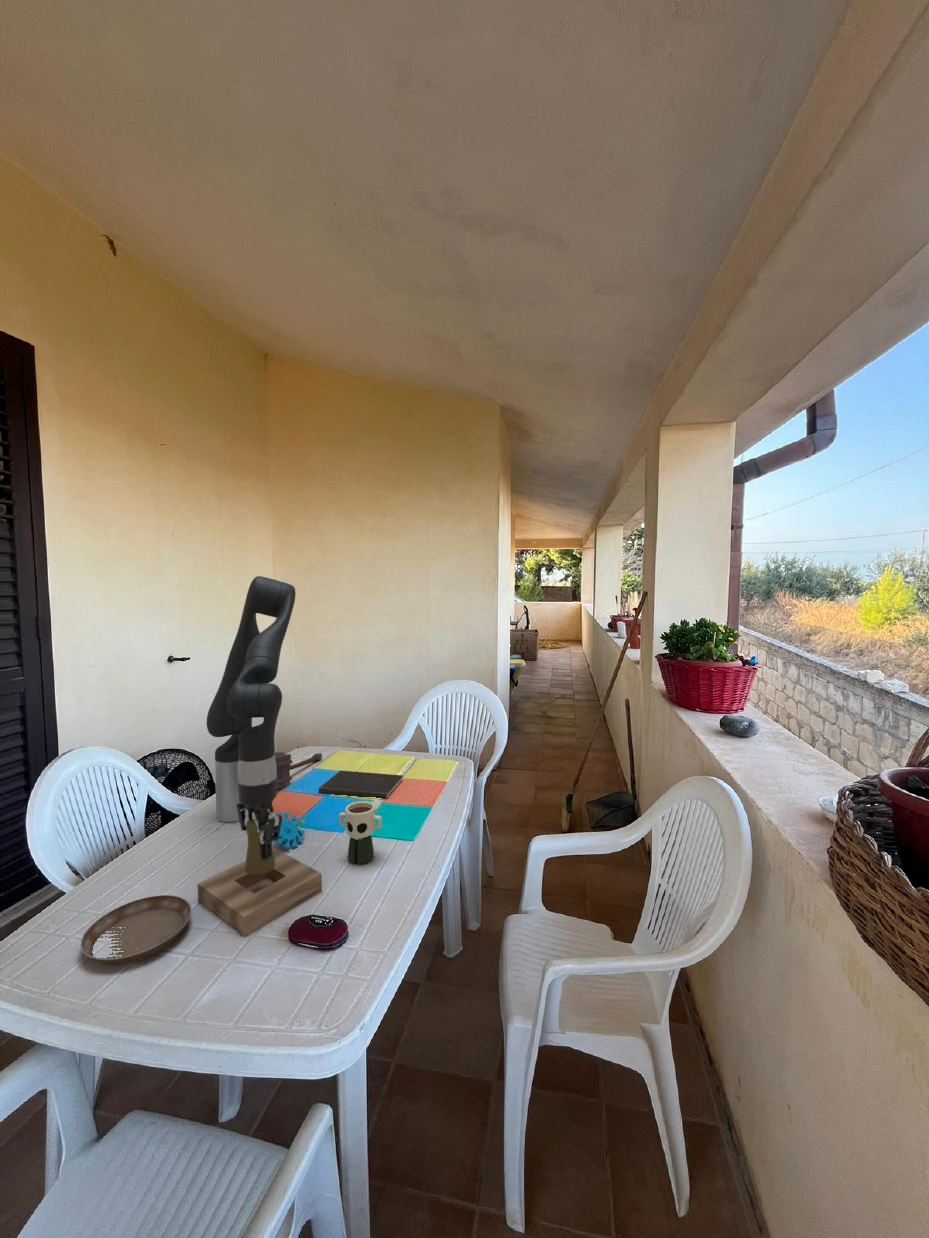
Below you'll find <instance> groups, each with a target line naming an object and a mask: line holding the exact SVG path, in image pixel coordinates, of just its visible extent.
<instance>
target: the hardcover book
mask: <svg viewBox="0 0 929 1238" xmlns="http://www.w3.org/2000/svg"><path fill="white" fill-rule="evenodd" d="M403 777H404V775H401V774H390V773H377V772H363V771H351V770H339V771H338V772H337V773H336V774H334V775H333V776H332V777H330V778H329V779H328V780H327V781H325V783H324V784H322V785H321V786H319V788H318V790H317V791H318V794H319V795H328V794H334V795H333V796H339V795H347V796H346V797H350V796H357V797H356V798H361V797H376V798H382V799H381V800H383V799H387V800H388V798H389V797H390V795H391V794H392V793H393V792H394V791H395V789H396V788H397V787H398V786H397V784H398V783H399V781H400V780H401V779H402V780H403ZM396 786H397V787H396ZM395 787H396V788H395ZM394 788H395V789H394ZM393 790H394V791H393ZM392 791H393V792H392ZM391 792H392V793H391ZM389 794H390V795H389ZM387 797H388V798H387Z"/></svg>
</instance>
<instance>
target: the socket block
mask: <svg viewBox="0 0 929 1238" xmlns="http://www.w3.org/2000/svg"><path fill="white" fill-rule="evenodd" d="M272 848H273V853H274V859H275V867H274V868H273V869H272V870H270V871H269V872H267V873H264V874H260V875H250V874H248V873H246V871H245V866H246V860H245V861H242V862H241V863H238V864H236V865H234V866H231V867H230V868H227V869H226V870H223V871H221V872H218V873H217V874H215V875H212V876H210V877H208V878H206V879H204V880H202V881H200V882H197V884H196V885H197V902H198V903H199V904H201V905H202V906H203V907H205V908H206V909H207V910H208V911H210V912H211V913H213V914H214V915H216V916H217V918H219V919H220V920H221V921H223V922H225V924H226V925H228V926H230V927H231V928H233V930H234V931H236V932H237V933H239V934H240V935H242V936H243V937H247V936H248V935H250V934H251V933H254V932H255V931H257V930H259V929H260V928H262V927H263V926H265V925H267V924H268V923H270V922H272V921H274V920H275V919H277V918H278V917H281V916H282V915H284V914H285V913H287V912H289V911H290V910H292V909H294V908H295V907H297V906H299V905H300V904H303V903H304V902H306V901H307V900H309V899H310V898H312V897H314V896H315V895H317V894H319V893H321V892H322V891H323V889H322V888H323V887H322V885H323V884H322V880H323V878H322V872H319V871H318V870H316V869H314V868H312V867H311V866H308V865H307V864H305V863H303V862H301V861H299V860H297V859H295V858H293V857H292V856H290V855H288V854H286V853H284V852H282V851H281V850H279V849H277V848H275V847H272Z"/></svg>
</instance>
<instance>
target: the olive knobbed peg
mask: <svg viewBox="0 0 929 1238" xmlns="http://www.w3.org/2000/svg"><path fill="white" fill-rule="evenodd" d="M267 826H268V825H267V824H264V825H261V828H265V827H267ZM246 831H247V833H248V834H249V839H248V838H247V849H246V857H245V858H246V859H245V861H246V866H245V871H246V873H248V874H250V875H260V874H264V873H267V872H269V871H270V870H272V869H273V868H274V867H275V859H274V853H273V848H274V847H272V856H271V857H270V858H268V859H266V860H262V858H261V849H260V843H261V842H260V837H259V835H260V833H257V828H256V825H255V822H254V820H253V819H250V820H249V821H248V822H247V824H246ZM246 831H245V832H246ZM264 836H266V831H265V832H264Z"/></svg>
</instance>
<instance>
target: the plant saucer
mask: <svg viewBox="0 0 929 1238" xmlns="http://www.w3.org/2000/svg"><path fill="white" fill-rule="evenodd" d="M191 915H192V906H191V904H190V902H189V901H188V900H186V899H185V898H183V897H181V896H177V895H173V894H170V895H169V894H162V895H159V894H158V895H153V896H147V897H143V898H140V899H137V900H133V901H130V902H128V903H125V904H122V905H120V906H118V907H117V908H114V909H113V910H109V912H106V914H104V915H103V916H101V917H99V918H98V919H97V920H96V921H95V922H93V923H92V924H91V925H90V926H89V928H87V929H86V931H85V933H84V934H83V935H82V938H81V941H80V949H81V951H82V953H84V955H85V956H87V958H89V959H90V960H92V961H94V962H97V963H99V964H102V965H108V966H121V964H123V965H128V964H127V963H129V964H133V963H136V962H139V960H140V961H142V960H144V958H145V959H147V958H150V957H151V955H152V956H154V955H155V954H157V953H159V952H160V951H162V950H164V949H165V948H167V947H168V946H169V945H170V944H171V943H172V942H173V941H174V940H176V939H177V937H178V936H179V935H180V934H181V933H182V931H183V930H184V928H186V926H187V925H188V922H189V920H190V919H191ZM113 927H114V928H113ZM117 927H118V928H117ZM119 927H122V928H121V929H120V928H119ZM124 927H125V928H124ZM106 931H108V932H109V931H112V932H111V933H110V932H109V933H108V934H118V935H114V936H111V937H110V936H109V937H108V938H116V939H115V940H114V939H112V940H111V941H119V942H115V943H111V944H119V945H118V946H117V945H115V946H112V947H109V948H121V949H120V950H117V949H114V951H124V952H118V953H115V955H118V957H117V956H116V957H115V956H113V957H111V958H110V957H107V958H106V959H105V958H96V957H93V953H92V951H93V946H94V944H95V942H96V941H97V939H98V938H100V937H101V935H103V934H107V932H106ZM113 931H115V932H113ZM117 931H118V932H117ZM122 931H123V932H122ZM105 932H106V933H105ZM120 934H121V935H120ZM105 937H107V936H105ZM101 938H103V936H102V937H101ZM117 938H119V939H117ZM120 941H121V942H120ZM120 944H121V945H120ZM137 948H138V949H137ZM163 948H164V949H163ZM112 951H113V949H112ZM153 954H154V955H153ZM109 955H114V954H113V952H112V954H109ZM119 955H122V956H121V957H120V956H119ZM141 959H142V960H141ZM135 961H136V962H135ZM132 962H133V963H132Z"/></svg>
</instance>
